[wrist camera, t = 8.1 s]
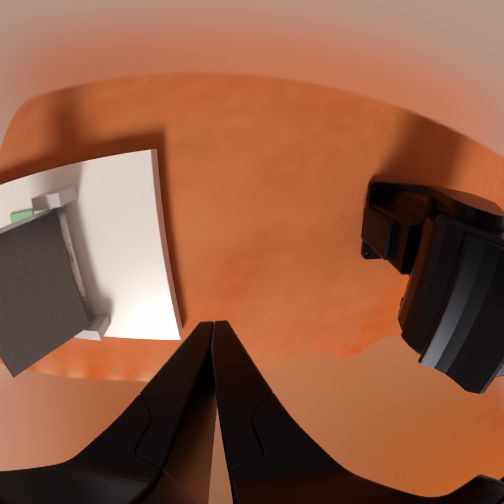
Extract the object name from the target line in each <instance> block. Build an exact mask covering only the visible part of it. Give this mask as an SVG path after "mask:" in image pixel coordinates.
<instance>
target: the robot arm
mask: <svg viewBox="0 0 504 504" xmlns="http://www.w3.org/2000/svg"><path fill="white" fill-rule="evenodd" d="M374 186H376V190H374V191H373V187H374ZM426 190H427V193H426ZM361 238H362V239H363V241H362V249H361V255H362V257H363V258H365V259H381V258H383V259H384V260H387V261H389V262H390V263H391V264H392V265H393V266H394V267H395V268H396V269H397V270H398V271H399V272H400V273H401V274H408V275H409V276H410V278H409V281H408V284H407V288H406V291H405V294H404V297H402V299H401V302H400V309H399V314H398V321H399V324H400V327H401V329H402V333H401V336H402V338H403V339H404V341H405V342H406V343H407V344H408V345H409V347H411V348H412V349H413V350H414V351H416V352H417V353H418V354H420V355H421V356H420V358H419V360H418V362H419V363H420V364H422V365H426V366H429V367H432V368H435V369H437V370H439V371H441V372H442V373H444V374H446V375H447V376H449V377H450V378H451V379H453V380H454V381H455V382H456V383H457V384H459V385H460V386H461V387H462V388H463V389H464V390H466V391H468V392H473V393H478V394H481V393H484V392H485V390H486V389H487V388H488V386H489V385H490V384H491V382H492V381H493V379H494V378H495V377H498V376H504V212H503V210H502V209H501V208H500V207H499V206H498V205H497V204H496V203H494V202H492V201H489V200H487V199H484V198H482V197H479V196H476V195H473V194H470V193H466V192H461V191H457V190H452V189H447V188H442V187H437V186H432V185H428V186H424V185H414V184H403V183H390V182H375V181H373V182H371V183H370V184H369V185H368V193H367V205H366V208H365V209H364V217H363V226H362V235H361ZM367 251H369V253H368V254H367V255H365V254H366V252H367ZM217 407H218V414H219V421H220V428H221V434H222V440H223V446H224V452H225V458H226V463H227V469H228V473H229V480H230V485H231V491H232V498H233V504H504V476H503V477H502V478H500V479H499V480H497V479H495V478H491V477H488V476H484V475H481V474H480V475H477V476H476V477H474V478H473V479H471V480H470V481H468V482H467V483H465V484H464V485H462V486H461V487H459V488H458V489H456V490H454V491H453V492H451V493H449V494H447V495H444V496H439V497H423V496H418V495H414V494H411V493H407V492H404V491H400V490H397V489H394V488H391V487H388V486H385V485H382V484H379V483H376V482H373V481H371V480H368V479H365V478H363V477H360V476H358V475H355V474H354V473H352V472H350V471H348V470H347V469H345V468H344V467H343V466H341V465H340V464H339V463H337V462H336V461H335V460H334V459H333V458H332V457H331V456H330V455H328V453H326V452H325V451H324V450H323V449H322V448H321V447H320V446H319V445H318V444H317V443H316V442H315V441H314V440H313V439H312V438H311V437H310V436H309V435H308V434H307V433H306V432H305V431H304V430H303V429H302V428H301V427H300V426H299V425H298V424H297V423H296V421H295V420H294V419H293V418H292V417H291V416H290V415H289V413H288V412H287V411H286V410H285V408H284V407H283V405H282V404H281V403H280V401H279V400H278V398H277V397H276V395H275V394H274V393H273V392H272V390H271V388H270V387H269V385H268V384H267V382H266V381H265V379H264V378H263V376H262V375H261V373H260V371H259V370H258V368H257V367H256V365H255V364H254V362H253V361H252V359H251V357H250V356H249V354H248V353H247V351H246V350H245V348H244V346H243V345H242V343H241V342H240V340H239V338H238V337H237V335H236V334H235V332H234V330H233V329H232V327H231V325H230V324H229V322H228V321H226V320H224V321H215V322H214V323H213V322H212V321H206V322H200V323H199V324H198V325H197V326H196V327H195V328H194V330H193V331H192V332H191V333H190V334H189V336H188V337H187V338H186V339H185V340H184V342H183V343H182V344H181V345H180V346H179V347H178V349H177V350H176V351H175V352H174V353H173V355H172V356H171V357H170V358H169V359H168V361H167V362H166V363H165V364H164V365H163V366H162V368H161V369H160V370H159V371H158V372H157V374H156V375H155V376H154V377H153V378H152V379H151V381H150V382H149V383H148V384H147V385H146V387H145V388H144V389H143V390H142V391H141V392H140V395H138V396H137V397H136V398H135V399H134V401H133V402H132V403H131V404H130V405H129V406H128V407H127V408H126V410H125V411H124V412H123V413H122V414H121V415H120V416H119V417H118V418H117V419H116V420H115V421H114V422H113V423H112V424H111V425H110V426H109V427H108V428H107V429H106V430H104V431H103V432H102V433H101V434H100V435H99V436H98V437H97V438H96V439H95V440H93V441H92V442H91V443H90V444H89V445H88V446H87V447H85V449H83V450H82V451H81V452H80V453H79V454H77V455H76V456H75V457H73V458H71V459H70V460H68V461H66V462H63V463H60V464H56V465H51V466H45V467H38V468H30V469H22V470H12V471H0V504H208V499H209V487H210V475H211V464H212V453H213V443H214V432H215V422H216V413H217Z"/></svg>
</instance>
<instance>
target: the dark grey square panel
mask: <svg viewBox="0 0 504 504" xmlns="http://www.w3.org/2000/svg"><path fill="white" fill-rule="evenodd" d="M94 318H95V314H94V311H93V308H92V305H91V302H90V300H89V297H88V294H87V291H86V288H85V284H84V281H83V278H82V275H81V271H80V268H79V264H78V261H77V257H76V253H75V249H74V245H73V241H72V237H71V233H70V228H69V223H68V219H67V214H66V208H65V205H63V206H61V207H56V208H53V209H51V210H50V209H46V210H43V211H41V212H38V213H36V214H33V215H31V216H28V217H26V218H23V219H21V220H18V221H16V222H13V223H11V224H9V225H7V226H4V227H2V228H0V357H1V359H2V361H3V362H4V364H5V365H6V367H7V368H8V370H9V371H10V373H11V374H12V376H13V377H15V376H16V375H18V374H19V373H21V372H22V371H24V370H25V369H27V368H28V367H30V366H31V365H32V364H34V363H35V362H37V361H38V360H40V359H41V358H43V357H44V356H46V355H47V354H49V353H50V352H52V351H53V350H55V349H56V348H58V347H59V346H61V345H62V344H64V343H65V342H67V341H68V340H70V339H71V338H73V337H74V336H76V335H77V334H79V333H80V332H82V331H83V330H85V329H86V328H88V327H89V326H91V325H90V323H89V321H91V320H93V319H94Z"/></svg>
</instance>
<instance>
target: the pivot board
mask: <svg viewBox="0 0 504 504" xmlns="http://www.w3.org/2000/svg"><path fill="white" fill-rule="evenodd" d="M63 205H65V208H66V214H67V219H68V223H69V228H70V233H71V237H72V241H73V245H74V249H75V253H76V257H77V261H78V264H79V268H80V271H81V275H82V278H83V281H84V284H85V288H86V291H87V294H88V297H89V300H90V302H91V305H92V308H93V311H94V314H95V318H94V319H93V320H91V321H89V323H90V325H91V326H89V327H88V328H86V329H85V330H83V331H82V332H80V333H79V334H77V335H76V336H75V338H82V339H91V340H102V339H103V337H104V336H108V337H122V338H139V339H164V340H180V339H181V335H182V331H183V328H182V323H181V318H180V314H179V309H178V304H177V299H176V293H175V288H174V282H173V277H172V271H171V265H170V259H169V252H168V246H167V239H166V232H165V224H164V216H163V208H162V199H161V189H160V179H159V167H158V154H157V149H150V150H143V151H136V152H130V153H123V154H118V155H112V156H107V157H101V158H96V159H91V160H87V161H82V162H78V163H73V164H69V165H65V166H61V167H57V168H53V169H49V170H46V171H42V172H39V173H35V174H32V175H29V176H25V177H22V178H19V179H16V180H13V181H10V182H7V183H4V184H1V185H0V228H2V227H4V226H7V225H9V224H11V223H13V222H16V221H18V220H21V219H23V218H26V217H28V216H31V215H33V214H36V213H38V212H41V211H43V210H46V209H50V210H51V209H53V208H56V207H61V206H63Z"/></svg>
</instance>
